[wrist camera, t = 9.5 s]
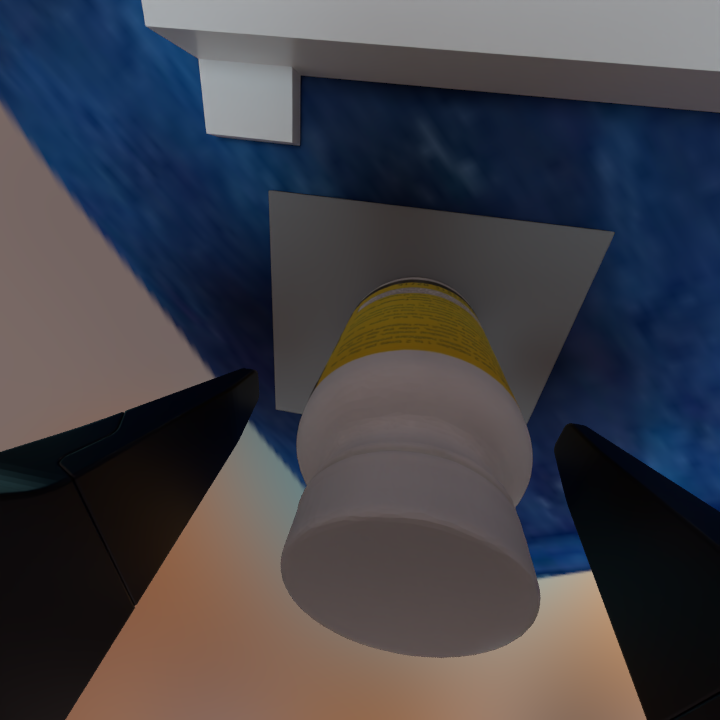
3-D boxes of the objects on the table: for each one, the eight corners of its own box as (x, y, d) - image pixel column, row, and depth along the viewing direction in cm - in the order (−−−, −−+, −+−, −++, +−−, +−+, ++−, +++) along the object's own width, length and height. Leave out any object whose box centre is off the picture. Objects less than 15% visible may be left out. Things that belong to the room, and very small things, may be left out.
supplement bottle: (333, 288, 13) (174, 481, 4) (472, 261, 12) (640, 456, 3) (362, 398, 15) (297, 665, 7) (482, 385, 14) (591, 694, 5)
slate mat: (607, 230, 11) (614, 232, 11) (511, 444, 16) (513, 451, 15) (274, 190, 12) (268, 190, 11) (279, 403, 17) (275, 409, 16)
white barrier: (1012, -37, 7) (1344, -163, 5) (834, 203, 10) (989, 207, 7) (199, -77, 9) (111, -187, 6) (219, 137, 11) (161, 120, 9)
